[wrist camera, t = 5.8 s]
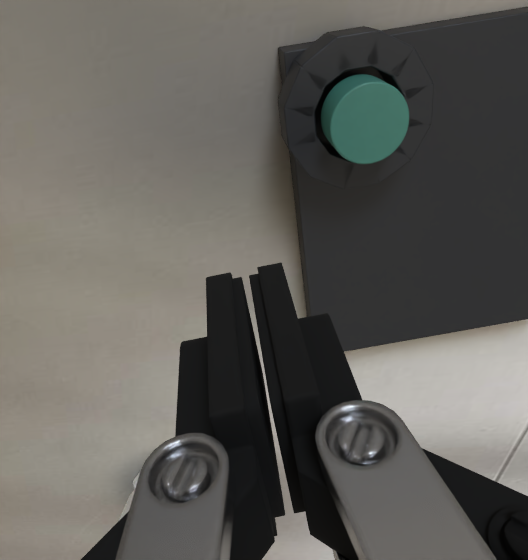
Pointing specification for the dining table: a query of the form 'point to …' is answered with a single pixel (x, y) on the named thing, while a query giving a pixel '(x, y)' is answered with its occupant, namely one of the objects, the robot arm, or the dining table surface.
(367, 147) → the button
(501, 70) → the scale
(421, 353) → the dining table surface
